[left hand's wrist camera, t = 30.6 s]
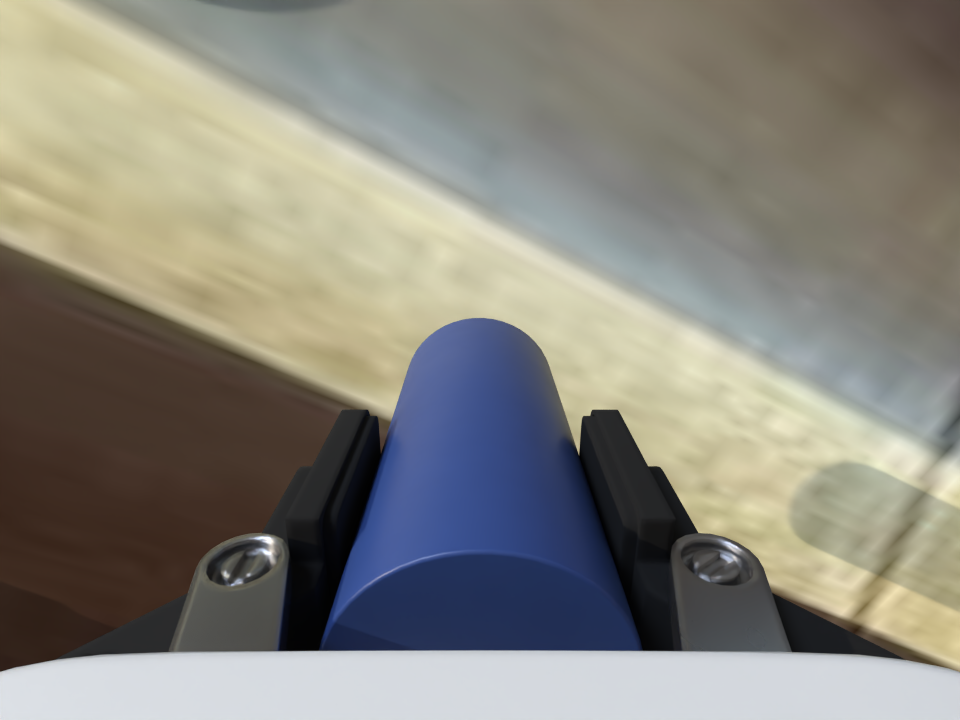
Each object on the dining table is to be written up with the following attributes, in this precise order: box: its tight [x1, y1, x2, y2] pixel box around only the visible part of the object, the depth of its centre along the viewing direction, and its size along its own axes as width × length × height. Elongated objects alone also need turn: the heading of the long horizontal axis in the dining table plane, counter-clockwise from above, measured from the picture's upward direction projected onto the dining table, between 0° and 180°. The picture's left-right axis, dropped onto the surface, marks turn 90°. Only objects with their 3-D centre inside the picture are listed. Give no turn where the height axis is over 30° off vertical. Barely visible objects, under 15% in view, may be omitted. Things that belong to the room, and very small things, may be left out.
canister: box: [319, 318, 643, 651], centre depth 12 cm, size 4×4×10 cm
